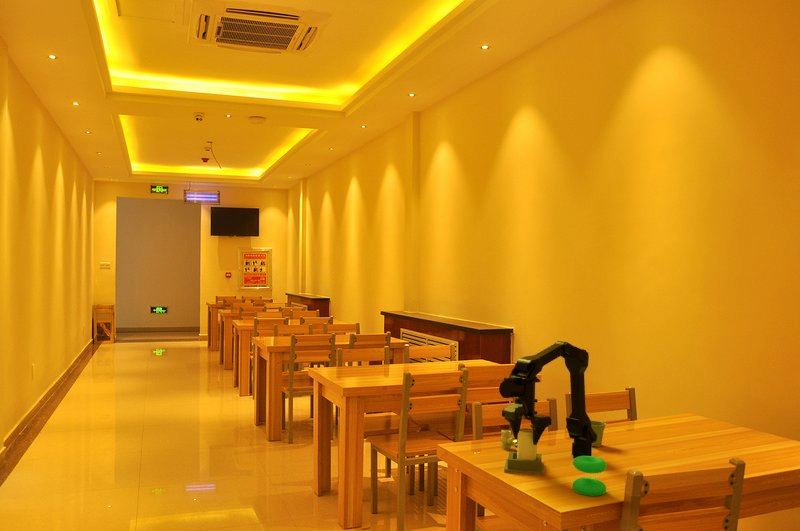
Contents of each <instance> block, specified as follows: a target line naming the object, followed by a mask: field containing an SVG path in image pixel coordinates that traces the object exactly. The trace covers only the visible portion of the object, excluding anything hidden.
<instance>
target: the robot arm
mask: <svg viewBox="0 0 800 531" xmlns="http://www.w3.org/2000/svg"><path fill="white" fill-rule="evenodd" d="M559 357H561V358H563V359H564V364H565V367H566V369H567V370H568V372H569V380H570V382H569V383H570V407H571V412H570V414H569V416H567V417H566V418H565V421H566V423H565V424H566V427H565V428H566V430H567V432H568V436H569V437H568V438H569V439H573V442H571V455H572V456H573V459H575V458H576V457H579V456H593V455H592V454H593V452H592V449H593V448H592V447H593V446H592V443H594V442H596V440H597V435H596V433H595V432H594V431H593V429H592V426H591V421H592V419H590V417H589V414H587V412H586V411H587V410H586V408H587V407H586V388H585V387H586V384H585V383H586V381H585V372H586V371H587V368H588V367H589V357H590V356H589V352H588V351H587V350H586V349H584V348H580V347H578V346H575V345H573V344H571V343H570V342H567V341H561V340H557V341H555V342H554V343H553V344H551V345H550V346H548V347H546V348H545V349H543V350H541V351H539V352H538V353H536V354H533V355H527V356H524V357H520V358H518V359H517V361H516V363H515V365H514V367H513V369H512V371H511V372H510V374H509V376H505V377H504V378H503V381H502V382H501V383H500V385H499V387H498V392H499V395H500V396H501V397H502V398H503V399H512V398H515V399H514V403H512V404H509V405H508V406H507V407H503V409H502V411H501V417H504V420H506V421H507V422H508V424H509V426H510V428H511V430H512V434H513V438H514V439H515V440H517V439H518V433H519V429H521V425H522V420H527V421H530V423H531V424H530V427H531V428H530V429H533V444H534V445H537V446H538V443H539V441H540V439H541V437H542V435H543V433H544V431H545V430H546V428H548V427H549V426H552V417H550V416H549V415H546V414H538V411H537V410H536V403H538V400H539V399H537V398H536V383H541V382H540V381H541V380H540V379H539V378H538V377H537V375H538V374H540V373H541V372H542V371H543V368H544V366H546V365H549V363H551V362H553V361H554V360H556V359H558V358H559Z"/></svg>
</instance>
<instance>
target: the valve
mask: <svg viewBox="0 0 800 531" xmlns="http://www.w3.org/2000/svg"><path fill="white" fill-rule="evenodd" d="M500 434H501V437H500V443H501V444H500V449H503V450H511V449H512V446H514V447H515V448H516V450H515V452H517V443H518V439H515V438H514V437H512V434H513V432H512V431H511V430H509V429H501V432H500Z"/></svg>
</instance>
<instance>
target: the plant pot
mask: <svg viewBox="0 0 800 531" xmlns="http://www.w3.org/2000/svg"><path fill="white" fill-rule="evenodd" d="M591 426H592V429H593V431H594V432H595V433H596V435H597V440H596V442H594V443H592V447H595V448H599V447H601V446H602V443H603V439H604V438H603V436H604V431H605V428H606V426H607V423H606V422H603V421H600V420H591Z"/></svg>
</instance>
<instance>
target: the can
mask: <svg viewBox="0 0 800 531" xmlns="http://www.w3.org/2000/svg"><path fill="white" fill-rule="evenodd" d="M516 450H517V459H522V460H534V461H536V460H537V454H538V452H537V450H538V444H537V445H534V444H533V429H532V428H528V427H527V428H526V427H525V428H524V427H523V428H520V429H519V433H518V443H517V448H516Z"/></svg>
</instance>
